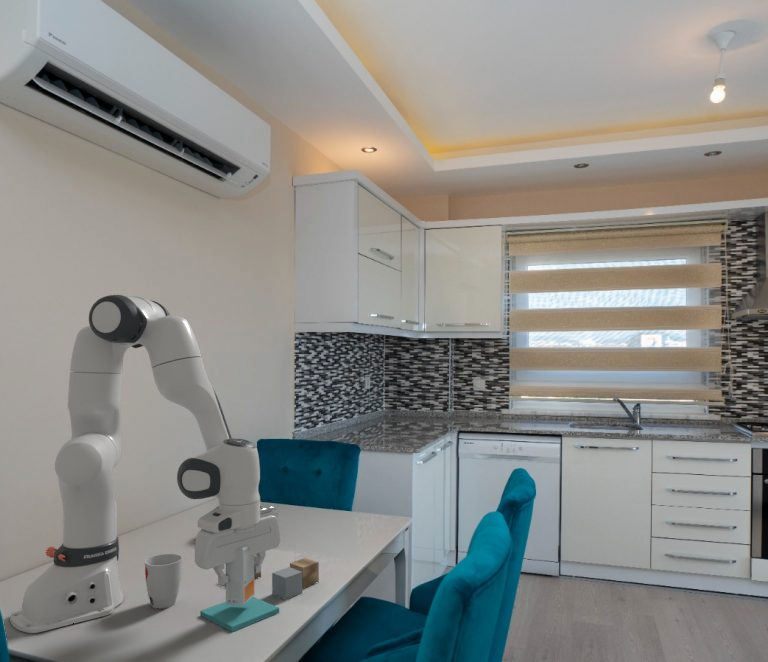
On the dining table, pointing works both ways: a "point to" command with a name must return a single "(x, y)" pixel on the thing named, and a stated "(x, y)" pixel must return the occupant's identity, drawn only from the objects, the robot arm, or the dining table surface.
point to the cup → (163, 579)
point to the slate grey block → (287, 583)
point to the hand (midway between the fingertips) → (240, 578)
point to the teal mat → (239, 613)
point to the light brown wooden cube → (307, 571)
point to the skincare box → (240, 578)
